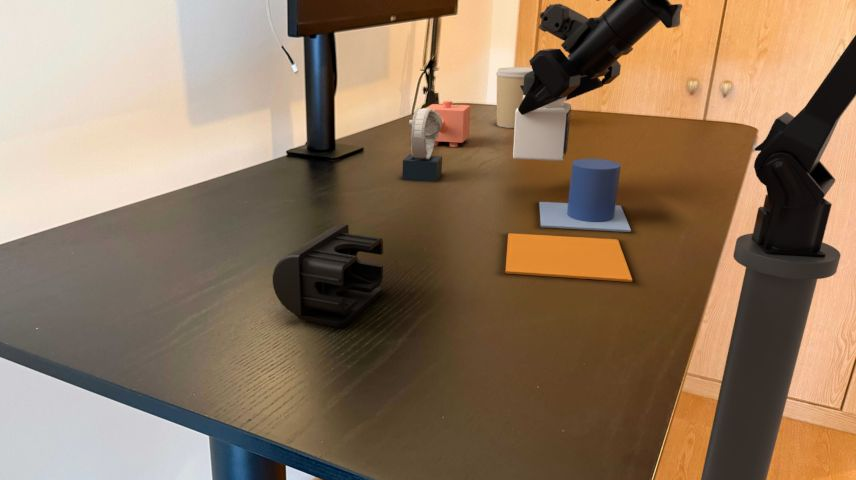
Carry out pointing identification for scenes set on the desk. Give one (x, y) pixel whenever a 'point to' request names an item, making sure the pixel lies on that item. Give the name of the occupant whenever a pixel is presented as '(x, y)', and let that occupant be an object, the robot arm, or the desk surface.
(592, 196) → the blue cylinder
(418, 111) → the watch
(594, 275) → the amber mat
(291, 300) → the end cap
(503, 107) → the coffee cup
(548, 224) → the blue mat
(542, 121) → the medicine bottle
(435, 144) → the pink cube teapot
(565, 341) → the desk surface
